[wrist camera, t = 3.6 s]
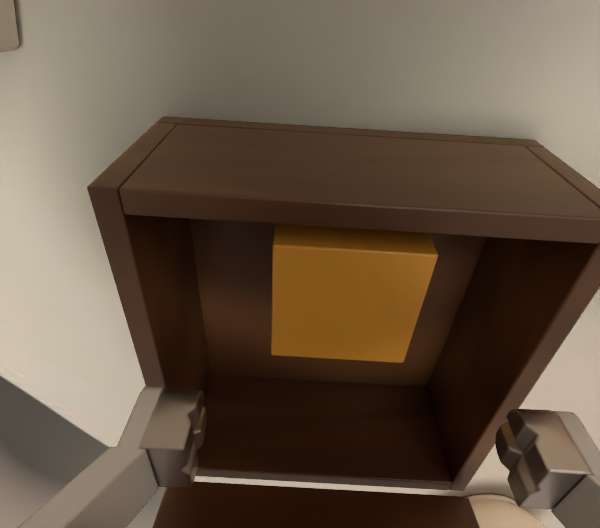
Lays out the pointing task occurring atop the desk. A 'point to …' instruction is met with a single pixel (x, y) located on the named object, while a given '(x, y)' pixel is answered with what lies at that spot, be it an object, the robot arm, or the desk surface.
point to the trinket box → (501, 513)
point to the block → (347, 291)
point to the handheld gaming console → (8, 26)
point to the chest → (355, 215)
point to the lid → (307, 508)
